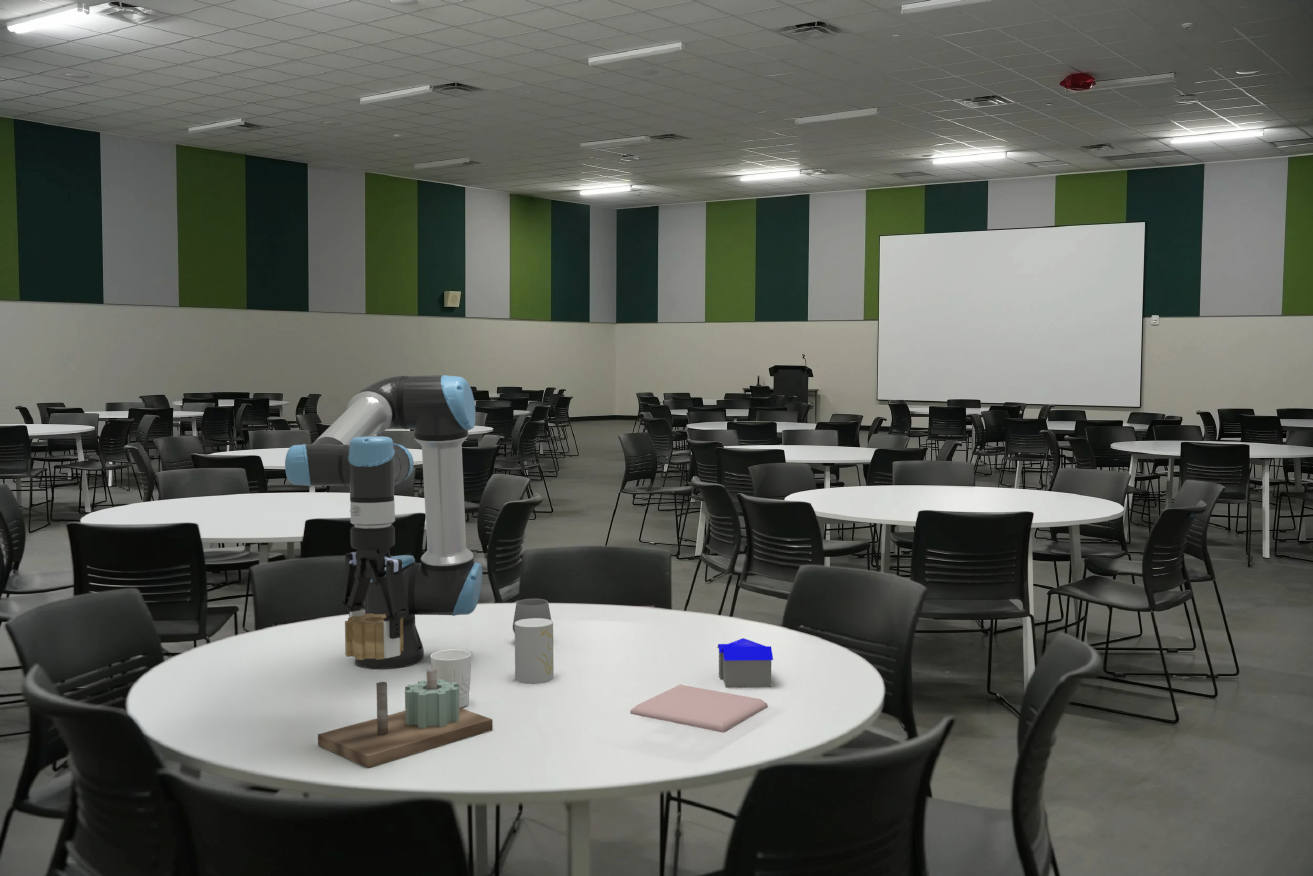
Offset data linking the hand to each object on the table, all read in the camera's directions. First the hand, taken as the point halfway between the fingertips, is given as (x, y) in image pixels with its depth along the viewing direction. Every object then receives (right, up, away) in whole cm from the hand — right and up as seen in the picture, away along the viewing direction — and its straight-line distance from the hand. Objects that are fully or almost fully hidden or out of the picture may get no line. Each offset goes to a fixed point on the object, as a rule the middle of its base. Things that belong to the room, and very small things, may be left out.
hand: (374, 651), depth 193 cm
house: (+68, -14, +39) cm, 80 cm away
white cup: (+9, -15, +23) cm, 29 cm away
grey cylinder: (+23, -14, +41) cm, 49 cm away
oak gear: (0, 0, 0) cm, 0 cm away
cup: (+20, -12, +71) cm, 74 cm away
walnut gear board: (+5, -16, +4) cm, 17 cm away
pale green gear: (+9, -14, +8) cm, 18 cm away
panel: (+51, -16, +14) cm, 56 cm away
